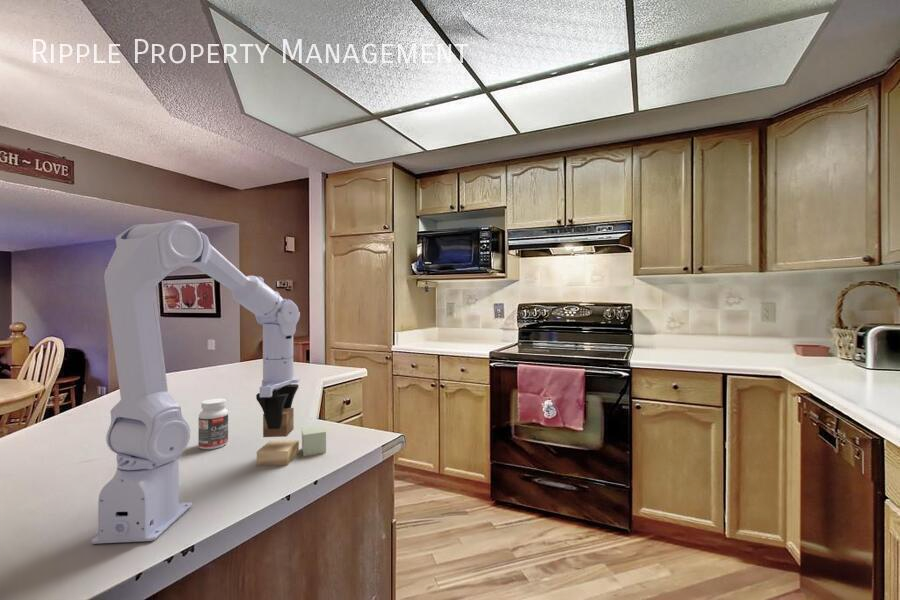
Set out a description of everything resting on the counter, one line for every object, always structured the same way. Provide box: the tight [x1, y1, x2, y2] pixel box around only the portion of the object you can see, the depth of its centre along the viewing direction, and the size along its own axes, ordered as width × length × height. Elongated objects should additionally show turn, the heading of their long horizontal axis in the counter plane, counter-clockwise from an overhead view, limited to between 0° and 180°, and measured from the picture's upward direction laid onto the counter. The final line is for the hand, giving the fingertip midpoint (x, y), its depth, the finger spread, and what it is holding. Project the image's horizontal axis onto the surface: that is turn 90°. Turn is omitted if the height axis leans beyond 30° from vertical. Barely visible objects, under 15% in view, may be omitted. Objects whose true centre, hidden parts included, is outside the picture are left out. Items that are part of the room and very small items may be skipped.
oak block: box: [256, 439, 300, 466], centre depth 81 cm, size 6×6×3 cm
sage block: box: [301, 425, 327, 457], centre depth 86 cm, size 4×4×4 cm
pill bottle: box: [197, 397, 229, 450], centre depth 89 cm, size 6×6×10 cm
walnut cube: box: [262, 407, 295, 438], centre depth 81 cm, size 4×4×4 cm
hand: (278, 424), depth 81 cm, fingers closed on walnut cube, 4 cm apart
